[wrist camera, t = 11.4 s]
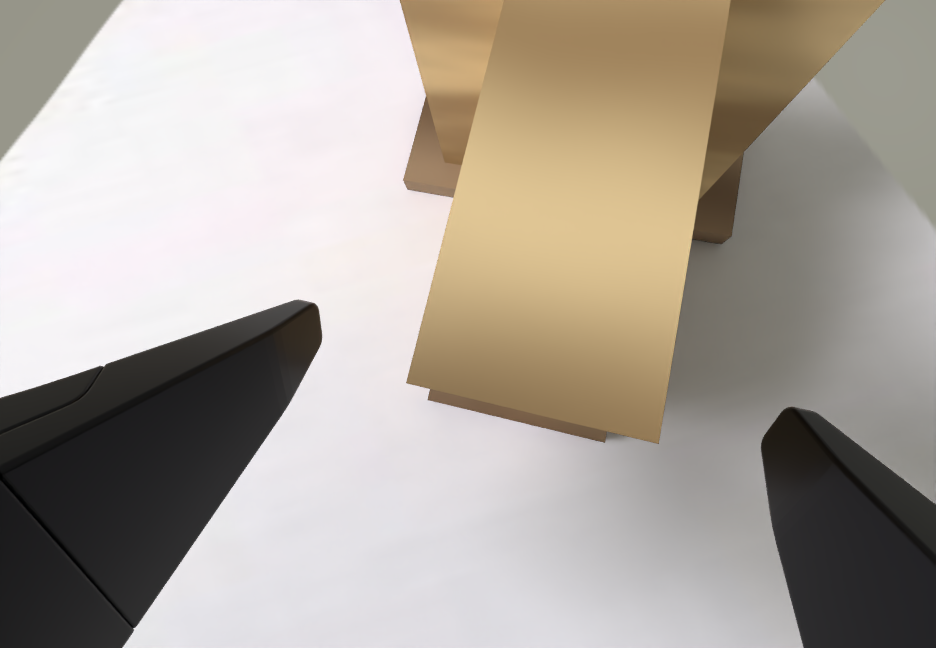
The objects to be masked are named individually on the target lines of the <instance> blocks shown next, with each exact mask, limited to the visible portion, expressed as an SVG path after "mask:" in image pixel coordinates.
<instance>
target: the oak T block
mask: <svg viewBox="0 0 936 648" xmlns="http://www.w3.org/2000/svg"><path fill="white" fill-rule="evenodd" d="M884 1H885V0H400V3H401V6H402V10H403V14H404V17H405V21H406V25H407V28H408V32H409V35H410V39H411V43H412V46H413V50H414V53H415V57H416V61H417V64H418V68H419V71H420V75H421V79H422V82H423V86H424V89H425V93H426V97H427V100H428V104H429V108H430V111H431V115H432V118H433V122H434V126H435V129H436V133H437V136H438V140H439V144H440V147H441V151H442V154H443V158H444V162H445V163H451V164H457V165H462V166H461V170H460V174H459V178H458V182H457V186H456V190H455V194H454V198H453V202H452V206H451V210H450V213H449V217H448V221H447V225H446V229H445V233H444V237H443V241H442V245H441V249H440V253H439V257H438V260H437V264H436V268H435V272H434V276H433V280H432V284H431V288H430V292H429V296H428V300H427V304H426V307H425V311H424V315H423V319H422V323H421V327H420V331H419V335H418V339H417V343H416V347H415V351H414V355H413V358H412V362H411V366H410V370H409V374H408V378H407V382H406V383H408V384H412V385H416V386H420V387H425V388H429V389H433V390H437V391H441V392H445V393H449V394H454V395H458V396H462V397H466V398H470V399H474V400H479V401H483V402H487V403H491V404H495V405H499V406H504V407H508V408H512V409H516V410H520V411H524V412H528V413H533V414H537V415H541V416H545V417H549V418H553V419H558V420H562V421H566V422H570V423H574V424H578V425H582V426H587V427H591V428H595V429H599V430H603V431H607V432H612V433H616V434H620V435H624V436H628V437H632V438H637V439H641V440H645V441H649V442H653V443H657V444H659V438H660V432H661V426H662V420H663V414H664V407H665V401H666V395H667V389H668V383H669V377H670V371H671V364H672V358H673V352H674V346H675V340H676V334H677V328H678V321H679V315H680V309H681V303H682V297H683V291H684V284H685V278H686V272H687V266H688V260H689V254H690V248H691V241H692V235H693V229H694V223H695V217H696V211H697V204H698V200H699V199H700V198H701V197H702V196H703V195H704V194H705V193H706V192H707V191H708V190H709V189H710V188H711V186H712V185H713V184H714V183H715V182H716V181H717V180H718V179H719V178H720V177H721V176H722V175H723V174H724V173H725V171H726V170H727V169H728V168H729V167H730V166H731V165H732V164H733V163H734V162H735V161H736V160H737V159H738V158H739V156H740V155H741V154H742V153H743V152H744V151H745V150H746V149H747V148H748V147H749V146H750V145H751V144H752V143H753V141H754V140H755V139H756V138H757V137H758V136H759V135H760V134H761V133H762V132H763V131H764V130H765V129H766V128H767V126H768V125H769V124H770V123H771V122H772V121H773V120H774V119H775V118H776V117H777V116H778V115H779V114H780V113H781V111H782V110H783V109H784V108H785V107H786V106H787V105H788V104H789V103H790V102H791V101H792V100H793V99H794V98H795V96H796V95H797V94H798V93H799V92H800V91H801V90H802V89H803V88H804V87H805V86H806V85H807V84H808V83H809V81H810V80H811V79H812V78H813V77H814V76H815V75H816V74H817V73H818V72H819V71H820V70H821V69H822V67H823V66H824V65H825V64H826V63H827V62H828V61H829V60H830V59H831V58H832V57H833V56H834V55H835V53H836V52H838V50H839V49H840V48H841V47H842V46H843V45H844V44H845V43H846V42H847V41H848V40H849V39H850V38H851V37H852V35H853V34H854V33H855V32H856V31H857V30H858V29H859V28H860V27H861V26H862V25H863V23H865V21H866V20H867V19H868V18H869V17H870V16H871V15H872V14H873V13H874V12H875V11H876V10H877V8H879V7H880V5H881V4H882V3H883V2H884Z"/></svg>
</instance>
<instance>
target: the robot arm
mask: <svg viewBox="0 0 936 648" xmlns="http://www.w3.org/2000/svg"><path fill="white" fill-rule="evenodd" d="M321 342H322V330H321V322H320V314H319V309H318V306H317V305H316V304H315V303H312V302H307V301H303V300H294V301H291V302H288V303H285V304H282V305H279V306H276V307H273V308H270V309H267V310H264V311H261V312H258V313H255V314H252V315H249V316H246V317H243V318H241V319H238V320H235V321H232V322H229V323H226V324H223V325H220V326H217V327H214V328H211V329H208V330H205V331H202V332H199V333H196V334H193V335H190V336H187V337H184V338H182V339H179V340H176V341H173V342H170V343H167V344H164V345H161V346H158V347H155V348H152V349H149V350H146V351H143V352H140V353H137V354H134V355H131V356H128V357H126V358H123V359H120V360H117V361H114V362H111V363H108V364H106V365H105V366H104V367H103V366H99V367H96V368H93V369H90V370H87V371H84V372H81V373H78V374H75V375H72V376H69V377H66V378H63V379H60V380H57V381H54V382H51V383H48V384H44V385H41V386H38V387H35V388H32V389H28V390H25V391H22V392H18V393H15V394H12V395H8V396H5V397H2V398H0V648H123V646H124V645H125V643H126V642H127V640H128V639H129V637H130V636H131V634H132V633H133V631H134V629H133V628H135V627H136V626H137V625H138V624H139V622H140V621H141V619H142V618H143V616H144V615H145V613H146V612H147V611H148V609H149V608H150V606H151V605H152V603H153V602H154V600H155V599H156V597H157V596H158V595H159V593H160V592H161V590H162V589H163V587H164V586H165V584H166V583H167V581H168V580H169V579H170V577H171V576H172V574H173V573H174V571H175V570H176V568H177V567H178V565H179V564H180V563H181V561H182V560H183V558H184V557H185V555H186V554H187V552H188V551H189V549H190V548H191V547H192V545H193V544H194V542H195V541H196V539H197V538H198V536H199V535H200V533H201V532H202V531H203V529H204V528H205V526H206V525H207V523H208V522H209V520H210V519H211V517H212V516H213V515H214V513H215V512H216V510H217V509H218V507H219V506H220V504H221V503H222V501H223V500H224V499H225V497H226V496H227V494H228V493H229V491H230V490H231V488H232V487H233V485H234V484H235V483H236V481H237V480H238V478H239V477H240V475H241V474H242V472H243V471H244V469H245V468H246V467H247V465H248V464H249V462H250V461H251V459H252V458H253V456H254V455H255V453H256V452H257V451H258V449H259V448H260V446H261V445H262V443H263V442H264V440H265V439H266V437H267V436H268V435H269V433H270V432H271V430H272V429H273V427H274V426H275V424H276V423H277V421H278V420H279V419H280V417H281V416H282V414H283V413H284V411H285V410H286V408H287V406H288V405H289V403H290V401H291V400H292V398H293V396H294V394H295V392H296V391H297V389H298V387H299V385H300V383H301V381H302V379H303V377H304V376H305V374H306V372H307V370H308V368H309V366H310V364H311V362H312V361H313V359H314V357H315V355H316V353H317V351H318V349H319V347H320V345H321ZM761 452H762V459H763V466H764V473H765V481H766V488H767V495H768V502H769V509H770V516H771V521H772V527H773V531H774V536H775V540H776V544H777V548H778V552H779V556H780V559H781V563H782V567H783V571H784V575H785V578H786V582H787V586H788V590H789V594H790V598H791V601H792V605H793V609H794V613H795V617H796V620H797V624H798V628H799V632H800V636H801V640H802V643H803V647H804V648H936V505H935V504H934V503H933V502H932V501H930V500H929V499H928V498H926V497H925V496H924V495H923V494H921V493H920V492H919V491H917V490H916V489H915V488H913V487H912V486H911V485H910V484H908V483H907V482H906V481H904V480H903V479H902V478H901V477H899V476H898V475H897V474H895V473H894V472H893V471H891V470H890V469H889V468H888V467H886V466H885V465H884V464H882V463H881V462H880V461H879V460H877V459H876V458H875V457H873V456H872V455H871V454H869V453H868V452H867V451H866V450H864V449H863V448H862V447H860V446H859V445H858V444H857V443H855V442H854V441H853V440H851V439H850V438H849V437H847V436H846V435H845V434H844V433H842V432H841V431H840V430H838V429H837V428H836V427H835V426H833V425H832V424H831V423H829V422H828V421H827V420H825V419H824V418H823V417H822V416H820V415H819V414H817V413H816V412H813V411H809V410H805V409H800V408H796V407H788V408H786V409H784V410H783V411H782V412H781V414H780V415H779V416H778V418H777V419H776V420H775V422H774V423H773V424H772V426H771V427H770V428H769V430H768V431H767V432H766V434H765V435H764V437H763V439H762V443H761Z"/></svg>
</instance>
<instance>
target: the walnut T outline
mask: <svg viewBox="0 0 936 648" xmlns="http://www.w3.org/2000/svg"><path fill="white" fill-rule="evenodd" d="M743 153H744V152H743ZM743 153H742V154H741V155H740V156H739V158H738V159H737V160H736V161H735V162H734V163H733V164H732V165H731V166H730V167H729V168H728V169H727V170H726V171H725V173H724V174H723V175H722V176H721V177H720V178H719V179H718V180H717V181H716V182H715V183H714V184H713V185H712V186H711V188H710V189H709V190H708V191H707V192H706V193H705V194H704V195H703V196H702V197H701V198H700V199H699V200H698V204H697V211H696V217H695V223H694V229H693V235H692V239H695V240H701V241H707V242H713V243H718V244H722V243H723V242H725V241H726V240H727V239H729V238H730V237H731V236H732V229H733V222H734V215H735V209H736V202H737V195H738V188H739V181H740V174H741V167H742V160H743ZM461 166H462V165H457V164H451V163H445V162H444V158H443V154H442V151H441V147H440V144H439V140H438V136H437V133H436V129H435V126H434V122H433V118H432V115H431V111H430V108H429V104H428V100H427V97H426V98H425V102H424V106H423V109H422V113H421V117H420V120H419V124H418V128H417V131H416V135H415V139H414V142H413V146H412V150H411V153H410V157H409V161H408V164H407V168H406V172H405V175H404V179H403V181H404V183H405V185H406V187H407V189H408V190H414V191H420V192H426V193H431V194H437V195H443V196H449V197H454V194H455V190H456V186H457V182H458V178H459V174H460V170H461ZM428 400H430V401H434V402H439V403H443V404H447V405H451V406H455V407H459V408H463V409H468V410H472V411H476V412H480V413H484V414H488V415H492V416H497V417H501V418H505V419H509V420H513V421H517V422H521V423H526V424H530V425H534V426H538V427H542V428H546V429H550V430H555V431H559V432H563V433H567V434H571V435H575V436H579V437H584V438H588V439H592V440H596V441H600V442H604V443H605V439H606V433H607V431H603V430H599V429H595V428H591V427H587V426H582V425H578V424H574V423H570V422H566V421H562V420H558V419H553V418H549V417H545V416H541V415H537V414H533V413H528V412H524V411H520V410H516V409H512V408H508V407H504V406H499V405H495V404H491V403H487V402H483V401H479V400H474V399H470V398H466V397H462V396H458V395H454V394H449V393H445V392H441V391H437V390H433V389H430V392H429V396H428Z"/></svg>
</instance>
